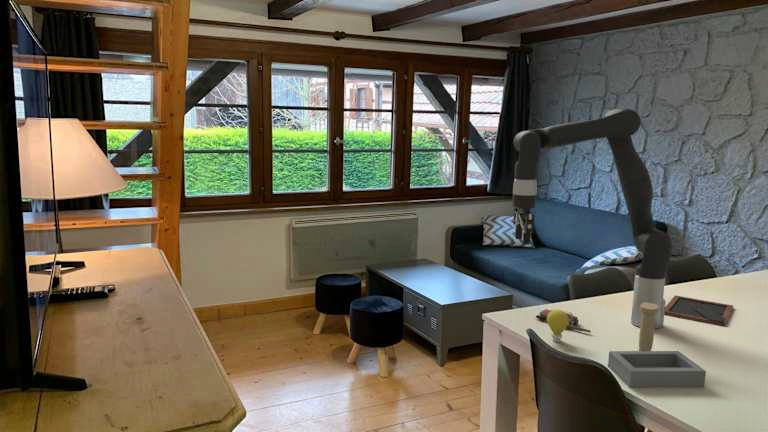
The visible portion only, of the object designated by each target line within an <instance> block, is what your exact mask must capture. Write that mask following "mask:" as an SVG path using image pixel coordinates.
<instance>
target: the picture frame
mask: <svg viewBox="0 0 768 432" xmlns="http://www.w3.org/2000/svg"><path fill="white" fill-rule="evenodd" d="M733 309H734V305H732V304H726V303H721V302H715V301H709V300H704V299H698V298H692V297H686V296H681V295H674V296H673V297H672V298H671V299H670V301H669V302H668V303H667V304H665V312H664V316H668V317H674V318H678V319H684V320H688V321H689V320H691V321H693V322H700V323H704V324H710V325H714V326H715V325H716V326H720V327H726V325H727V322H728V320H729V319H730V316H731V314H732V312H733Z"/></svg>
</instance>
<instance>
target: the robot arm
mask: <svg viewBox="0 0 768 432" xmlns="http://www.w3.org/2000/svg"><path fill="white" fill-rule="evenodd" d="M641 124H642V120H641V117H640V115H639V113H638V112H637V111H636V110H633V109H630V108H626V107H625V108H613V109H610V110H609V111H607V112H606V113H605V115H604V116H603V117H599V118H595V119H589V120H583V121H582V120H580V121H573V122H572V121H571V122H565V123H560V124H556V125H551V126H547V127H544V128H537V129H529V130H523V131H520V132H518V133H517V134H516V135H515V136H514V138H513V142H512V143H513V146H514V149H516V151H518V160H517V161H516V163H515V165H514V179H513V180H514V181H513V186H512V205H511V206H512V207H513V220H512V221H513V222H512V225H514V228H515V232H514V233H515V235H514V238H515V239H516V240H522V244H523V245H530V244H531V237H532V236H531V234H532V233H534V229H535V214H534V213H531V210H532V209H535V208H536V206H537V195H538V194H537V192H538V190H537V189H538V186H537V184H538V183H537V182H538V181H537V176H538V175H537V174H538V163H539V160H540V155H541V152H542V151H541V149H555V148H560V147H561V148H562V147H564V146H570V145H573V144H579V143H582V142H587V141H591V140H596V139H597V140H598V139H604V138H606V140H607V142H608V144H609V147H610V150H611V154H612V156H613V161H614V163H615V164H614V165H615V168H616V171H617V176H618V180H619V184H620V189H621V191H622V196H623V198H624V201H625V205H626V208H627V212H628V215H629V220H630V225H631V231H632V238H633V239H632V240H633V245H634V246H635V248H636V249H637V250H638V252H639V253H641V254H643V255H642V259H641V260H642V261H641V264H639V265H637V266H636V267H635V275H634V284H633V298H632V306H631V307H632V309H631V317H630V322H631V324H632V325H634V326H636V327H639V328H640V327H641V321H642V311H641V310H640V304H641V303H653V304H656V305H658V306H659V308H658V313H655V316H654V330H655V329H659V328H664V320H665V315H664V312H665V307H666V300H665V299H664V293H665V282H666V275H667V274H666V273H668V271H669V268H670V263H671V255H672V245H673V244H672V239H671V237H670V236H669V234H668V233H666V232H665V231H661V230H659V229H657V227H656V224H655V221H654V218H653V215H652V204H653V197H654V196H653V195H654V187H653V184H652V179H651V177H650V172H649V170H648V168H647V166H646V165H645V163H644V161H643V159H642V158H641V157H640V155H639V153H638V152H637V150H636V148H635V145H634V143H633V139H632V136H633V135H635V134H636V133H637V132H638V131H639V129H640V127H641Z"/></svg>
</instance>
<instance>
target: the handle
mask: <svg viewBox="0 0 768 432" xmlns="http://www.w3.org/2000/svg"><path fill="white" fill-rule="evenodd" d="M658 308H659V306H658V305H656V304H653V303H641V304H640V310H641V311H642V321H641V327H639V334H638V351H652V350H653V349H652V348H653V345H654V338H655V337H654V336H655V329H654V316H655V313H658Z"/></svg>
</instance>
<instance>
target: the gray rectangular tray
mask: <svg viewBox="0 0 768 432" xmlns="http://www.w3.org/2000/svg"><path fill="white" fill-rule="evenodd" d="M607 367H608V368H609V369H610V370H611V371H612V372H613V373H614V374H615V375H616V376H617V377H618V378H619V379H620V380H622V382H623V383H624V384H626V386H627V387H628V388H705V385H706V383H705V382H706V375H707V370H705V368H703V367H702V366H700V365H699V364H697V363H696V362H695V361H693V360H692V359H690V358H689V357H688V356H686V355H685V354H683V353H682V352H680V351H679V350H651V351H639V350H619V351H618V350H616V351H613V350H609V352H608V359H607Z"/></svg>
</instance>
